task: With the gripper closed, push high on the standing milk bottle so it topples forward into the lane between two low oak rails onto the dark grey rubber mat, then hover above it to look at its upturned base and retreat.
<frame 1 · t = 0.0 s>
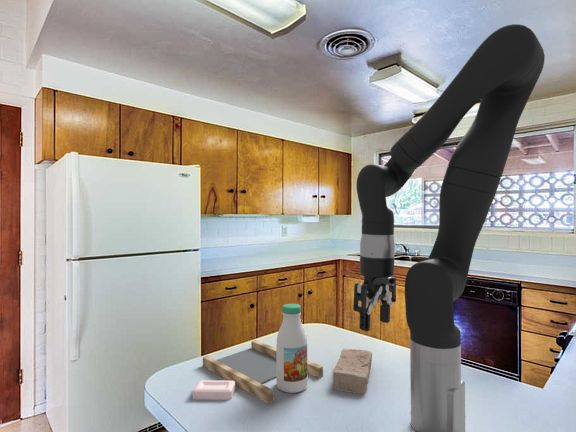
hand: (375, 326, 77), 17 cm above the counter, tool pointing down, fingers open, 8 cm apart
rails: (260, 370, 93), on the counter
mat: (251, 366, 96), on the counter
brick: (353, 378, 90), on the counter
milk bottle: (292, 386, 85), on the counter
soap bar: (214, 395, 82), on the counter
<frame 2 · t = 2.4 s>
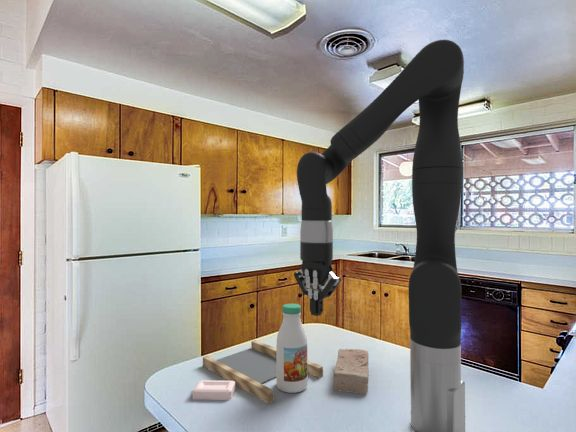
hand: (316, 314, 79), 19 cm above the counter, tool pointing down, fingers closed
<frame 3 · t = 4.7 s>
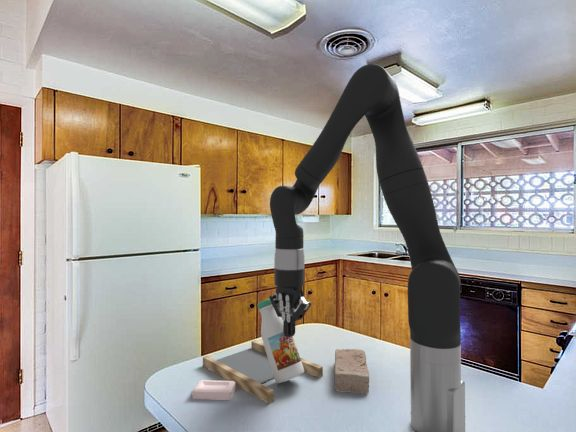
hand: (289, 335, 85), 12 cm above the counter, tool pointing down, fingers closed
milk bottle: (291, 379, 85), point 2 cm above the counter
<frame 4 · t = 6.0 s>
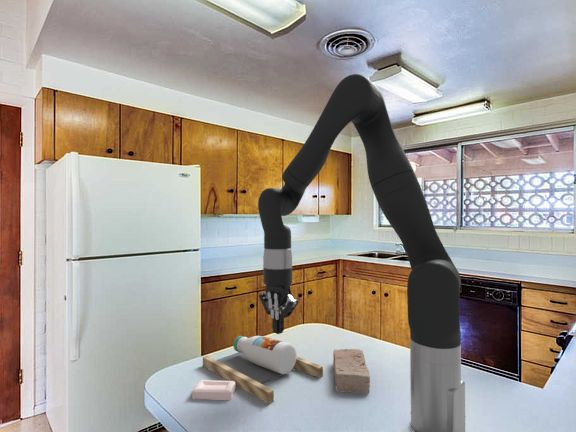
hand: (278, 332, 88), 12 cm above the counter, tool pointing down, fingers closed
milk bottle: (288, 359, 90), point 4 cm above the counter, touching mat
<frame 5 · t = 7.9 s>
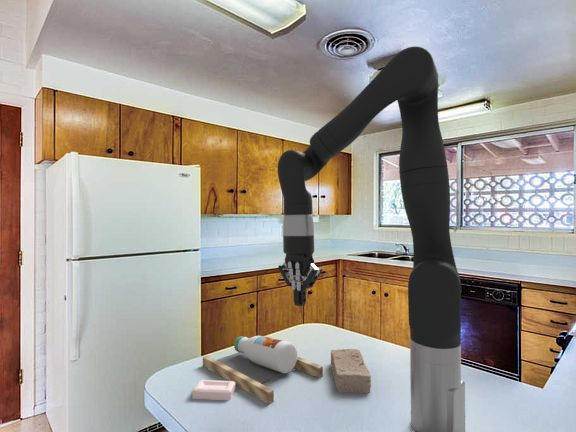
hand: (299, 305, 83), 21 cm above the counter, tool pointing down, fingers closed
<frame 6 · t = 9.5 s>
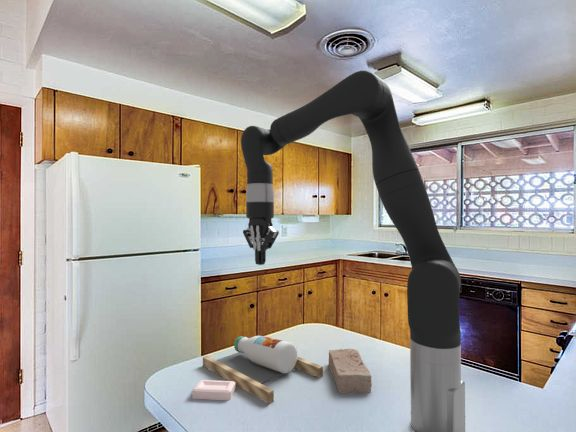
hand: (260, 264, 94), 29 cm above the counter, tool pointing down, fingers closed
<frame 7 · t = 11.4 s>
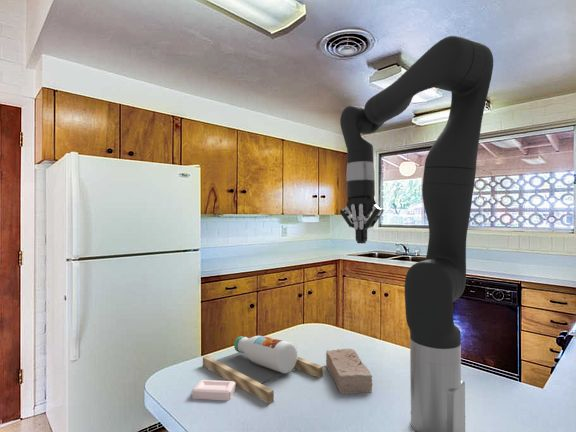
hand: (361, 243, 94), 35 cm above the counter, tool pointing down, fingers closed
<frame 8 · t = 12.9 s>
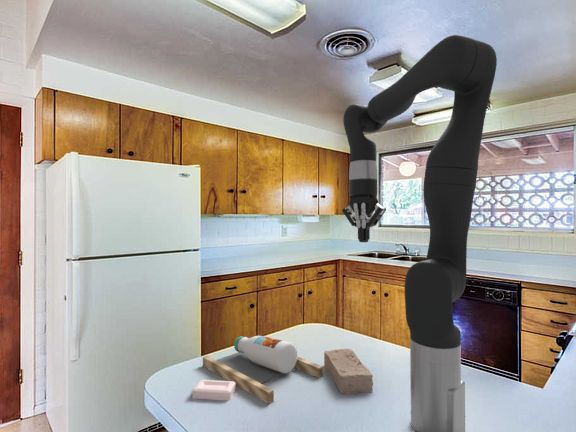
hand: (363, 242, 94), 35 cm above the counter, tool pointing down, fingers closed
at the end: milk bottle tilted 93°; milk bottle inside the target area (8.5 cm from its centre), point 4.6 cm above the counter; the gripper is holding nothing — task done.
